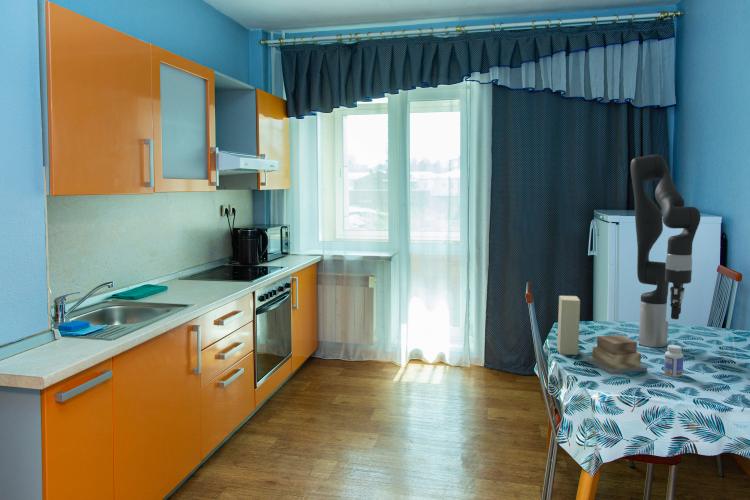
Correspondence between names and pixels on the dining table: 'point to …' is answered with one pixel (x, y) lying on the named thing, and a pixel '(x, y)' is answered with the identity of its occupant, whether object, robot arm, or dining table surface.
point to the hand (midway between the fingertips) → (675, 316)
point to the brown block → (616, 352)
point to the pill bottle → (673, 361)
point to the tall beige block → (568, 325)
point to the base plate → (616, 371)
